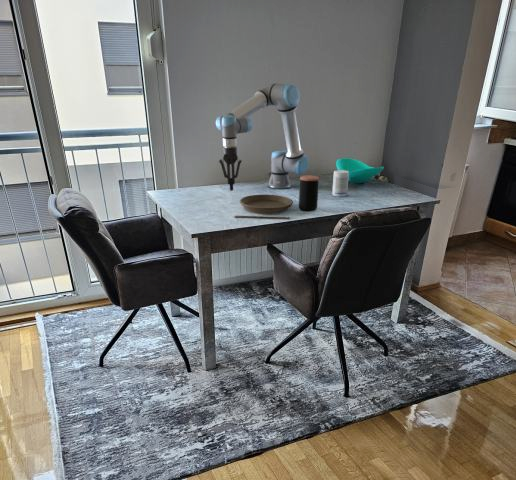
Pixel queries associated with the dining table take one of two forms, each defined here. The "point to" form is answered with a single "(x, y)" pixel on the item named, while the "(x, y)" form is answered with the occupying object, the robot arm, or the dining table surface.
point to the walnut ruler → (261, 217)
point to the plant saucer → (266, 204)
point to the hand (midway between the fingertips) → (231, 190)
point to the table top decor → (357, 170)
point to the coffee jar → (308, 193)
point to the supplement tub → (340, 183)
